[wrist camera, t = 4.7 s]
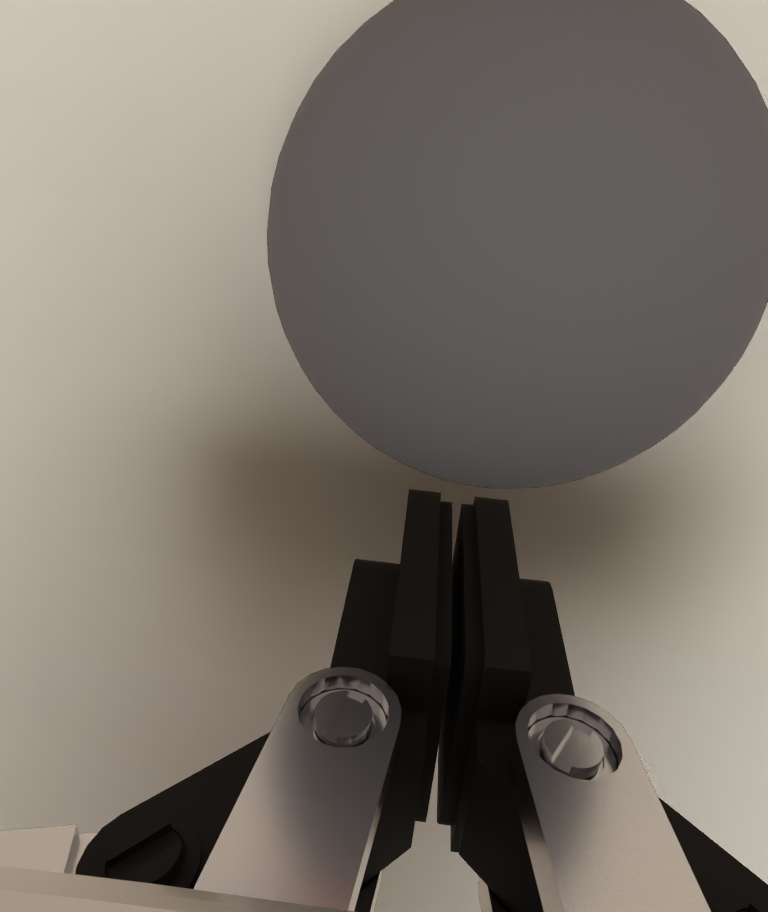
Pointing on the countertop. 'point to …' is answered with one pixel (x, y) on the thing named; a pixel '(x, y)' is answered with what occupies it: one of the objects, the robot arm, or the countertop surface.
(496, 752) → the robot arm
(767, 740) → the countertop surface
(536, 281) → the grey rubber ball
